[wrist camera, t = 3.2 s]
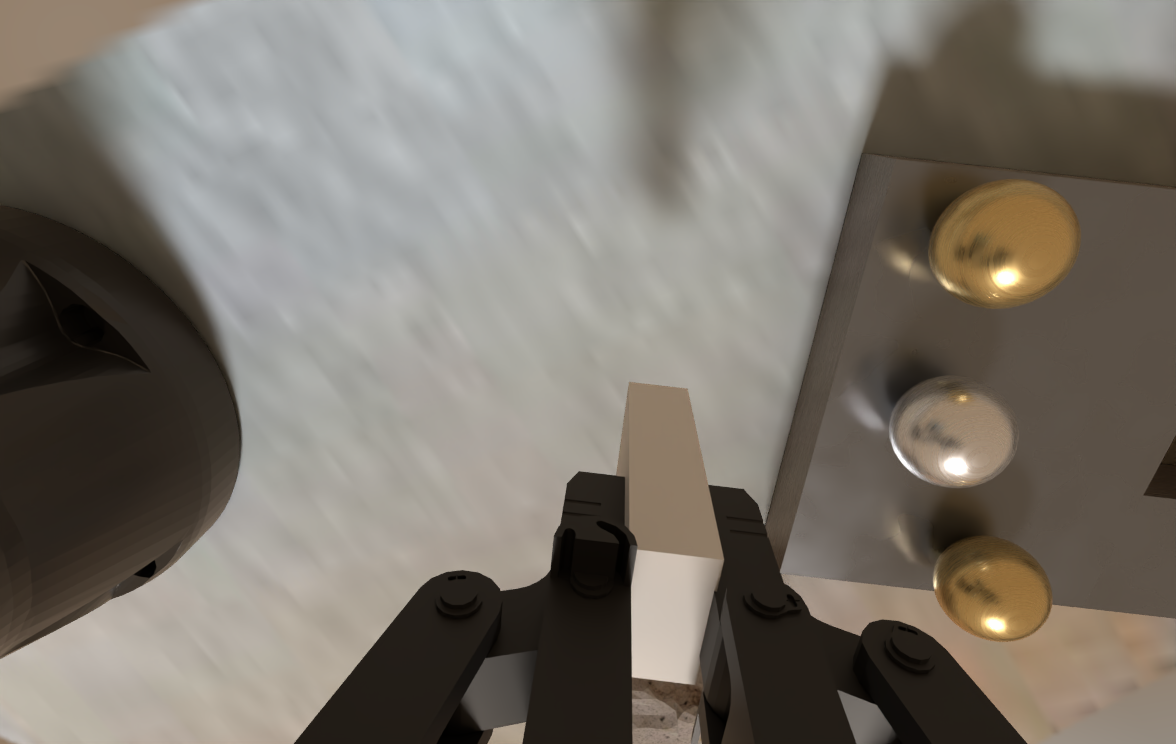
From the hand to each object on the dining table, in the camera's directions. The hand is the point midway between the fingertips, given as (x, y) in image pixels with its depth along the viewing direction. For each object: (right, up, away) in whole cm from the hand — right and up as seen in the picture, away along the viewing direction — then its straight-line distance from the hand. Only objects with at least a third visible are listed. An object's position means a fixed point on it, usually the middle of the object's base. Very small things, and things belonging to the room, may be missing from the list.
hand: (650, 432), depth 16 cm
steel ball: (+9, 0, +2) cm, 9 cm away
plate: (+15, +1, +5) cm, 16 cm away
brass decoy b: (+11, -5, +4) cm, 13 cm away
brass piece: (+9, +5, 0) cm, 10 cm away
